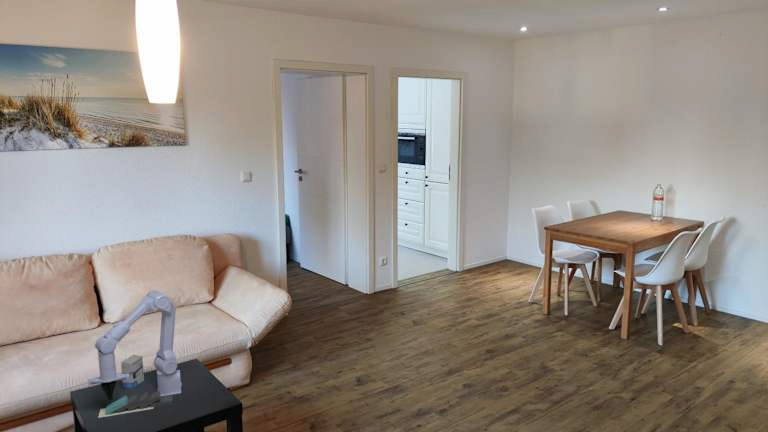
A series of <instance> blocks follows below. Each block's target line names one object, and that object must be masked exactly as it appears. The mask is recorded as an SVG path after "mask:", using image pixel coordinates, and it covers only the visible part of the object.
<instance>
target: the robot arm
mask: <svg viewBox="0 0 768 432" xmlns="http://www.w3.org/2000/svg"><path fill="white" fill-rule="evenodd" d="M156 310H158V311H159V312H160V313H161V320H160V322H161V323H160V334H159V335H160V336H159V347H158V348H159V349H158V350H157V351H156V355H155V357H154V359H153V366H154V367H155V368H156V379H157V391H158V390H159V391H160V393H161V395H160V397H164V396H173V395H179V394H182V387H183V383H182V380H181V378H182V377H181V370H180V369H177V368H178V363H177V360H176V358H177V357H176V354H175V352H174V339H175V328H176V327H175V325H176V314H177V313H176V311H177V309H176V307H175V305H174V303H173V301H172V298H171V297H170V296H169V295H167V294H163V293H162V292H159V291H158V290H151V291H148V292H147V294H146V295H144V296H143V297H142V299H141V300H140V302H139V303H138V304H137V305H136V306H135V307H134V308H133V310H131V312H130V313H129V314H128V315H127V316H126V317H125V318H124V320H119V321H118V322H115V323H114V324H113V325H112V327H111V328H110V329H109V330H108V331H107V332H105V333H104V334H103V335H102V336H100V337H99V338H97V339H96V341H95V344H94V347H95V349H96V350H97V355H98V357H97V359H98V366H99V376H97V377H93V378H88V379H87V386H93V385H100V384H101V385H100V387H101V389H102V390H103V392H104V393H105V395H106V397H107V400H108V401H113V399H114V390H115V388H116V385H117V383H118V382H119V381H123V380H129V373H128V374H122V373H117V366H116V365H117V364H116V356H115V351H116V348H117V345H118V343H119V342H121V340H122V339H123V338H124V337H125V336H126V335H127V334H128V333H130V331H131V326H133V325H134V324H135V323H136V322H137V321H138V320H139V319H140V318H141V317H143V315H145V314H146V313H148V312H155V311H156Z"/></svg>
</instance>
